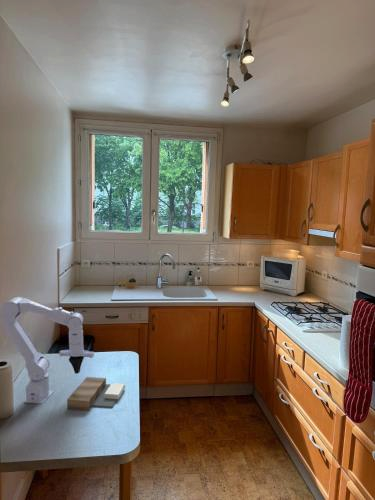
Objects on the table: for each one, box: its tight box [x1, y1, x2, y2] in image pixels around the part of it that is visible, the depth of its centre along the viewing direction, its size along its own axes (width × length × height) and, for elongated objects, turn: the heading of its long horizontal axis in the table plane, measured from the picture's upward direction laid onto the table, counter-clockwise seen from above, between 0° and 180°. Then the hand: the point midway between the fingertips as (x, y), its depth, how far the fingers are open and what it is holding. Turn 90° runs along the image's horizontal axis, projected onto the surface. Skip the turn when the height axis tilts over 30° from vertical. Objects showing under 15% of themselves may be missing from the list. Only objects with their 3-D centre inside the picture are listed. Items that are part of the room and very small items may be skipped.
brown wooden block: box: [66, 376, 107, 412], centre depth 144 cm, size 19×9×4 cm, turn 173°
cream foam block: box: [105, 382, 126, 400], centre depth 146 cm, size 9×6×2 cm, turn 173°
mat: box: [92, 383, 118, 409], centre depth 145 cm, size 17×8×1 cm, turn 173°
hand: (77, 372), depth 147 cm, fingers closed
